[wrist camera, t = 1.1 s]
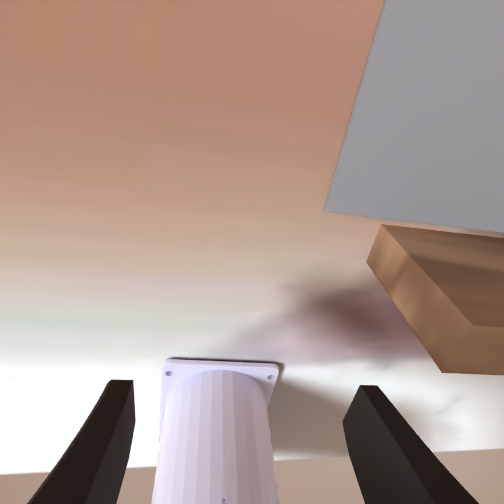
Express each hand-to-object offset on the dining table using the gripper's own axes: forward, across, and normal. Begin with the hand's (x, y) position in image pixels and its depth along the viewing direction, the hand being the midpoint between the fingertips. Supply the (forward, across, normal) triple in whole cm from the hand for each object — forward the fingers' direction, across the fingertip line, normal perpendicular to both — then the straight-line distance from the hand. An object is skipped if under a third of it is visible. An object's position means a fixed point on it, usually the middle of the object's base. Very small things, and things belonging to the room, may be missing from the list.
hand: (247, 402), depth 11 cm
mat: (+9, -12, -8) cm, 17 cm away
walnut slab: (+10, -12, -1) cm, 16 cm away
